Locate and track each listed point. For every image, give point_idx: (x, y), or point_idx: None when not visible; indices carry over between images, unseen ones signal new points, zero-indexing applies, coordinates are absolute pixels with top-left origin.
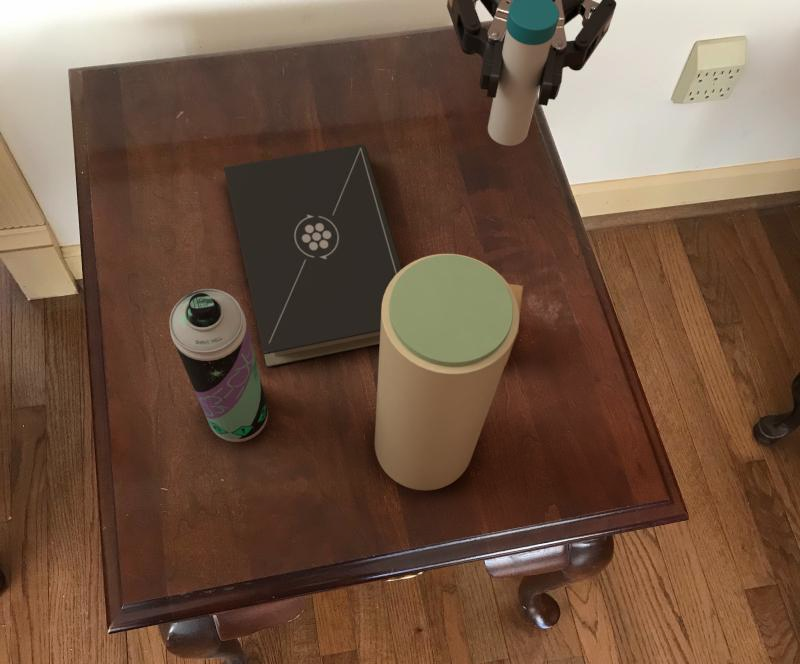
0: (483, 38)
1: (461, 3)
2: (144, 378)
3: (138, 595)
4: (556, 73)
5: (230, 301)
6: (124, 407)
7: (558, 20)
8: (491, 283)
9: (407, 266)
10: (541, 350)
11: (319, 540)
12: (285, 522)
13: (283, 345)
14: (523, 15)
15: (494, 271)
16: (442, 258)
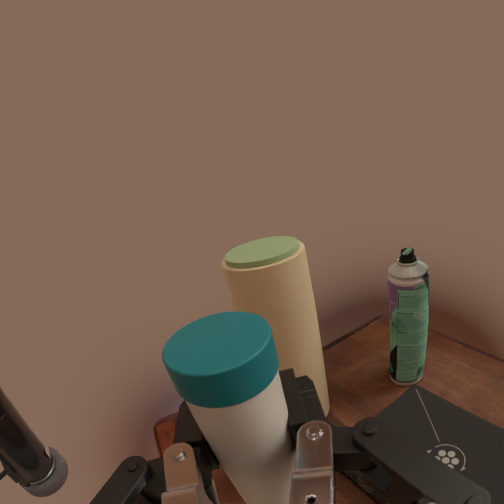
0: (337, 432)
1: (424, 459)
2: (460, 359)
3: (385, 316)
4: (187, 415)
5: (406, 275)
6: (454, 347)
7: (175, 491)
8: (239, 259)
9: (297, 253)
10: (232, 486)
11: (330, 356)
12: (350, 355)
13: (407, 392)
14: (236, 326)
15: (240, 270)
16: (275, 255)
